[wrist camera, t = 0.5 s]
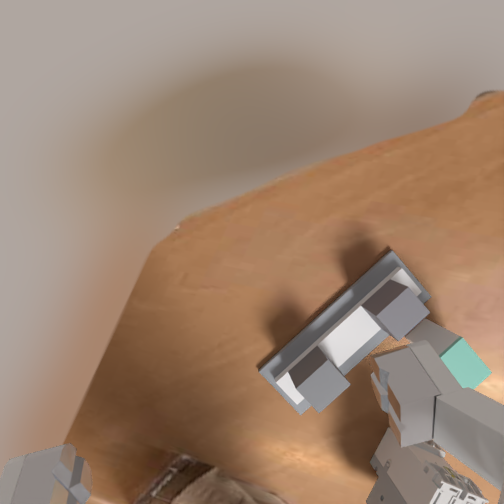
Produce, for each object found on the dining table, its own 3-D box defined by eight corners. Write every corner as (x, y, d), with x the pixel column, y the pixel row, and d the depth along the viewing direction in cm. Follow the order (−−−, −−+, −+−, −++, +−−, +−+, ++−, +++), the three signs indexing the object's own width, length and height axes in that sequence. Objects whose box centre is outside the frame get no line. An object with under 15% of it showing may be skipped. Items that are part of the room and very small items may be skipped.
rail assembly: (428, 295, 66) (459, 308, 58) (299, 412, 66) (312, 441, 58) (390, 250, 65) (416, 256, 57) (258, 369, 65) (265, 393, 57)
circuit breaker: (352, 493, 69) (391, 572, 54) (392, 419, 68) (442, 479, 53) (390, 509, 70) (438, 591, 55) (430, 436, 69) (489, 499, 54)
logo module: (425, 318, 67) (462, 337, 57) (451, 348, 68) (492, 372, 58) (404, 336, 67) (438, 359, 57) (430, 366, 68) (468, 394, 58)
